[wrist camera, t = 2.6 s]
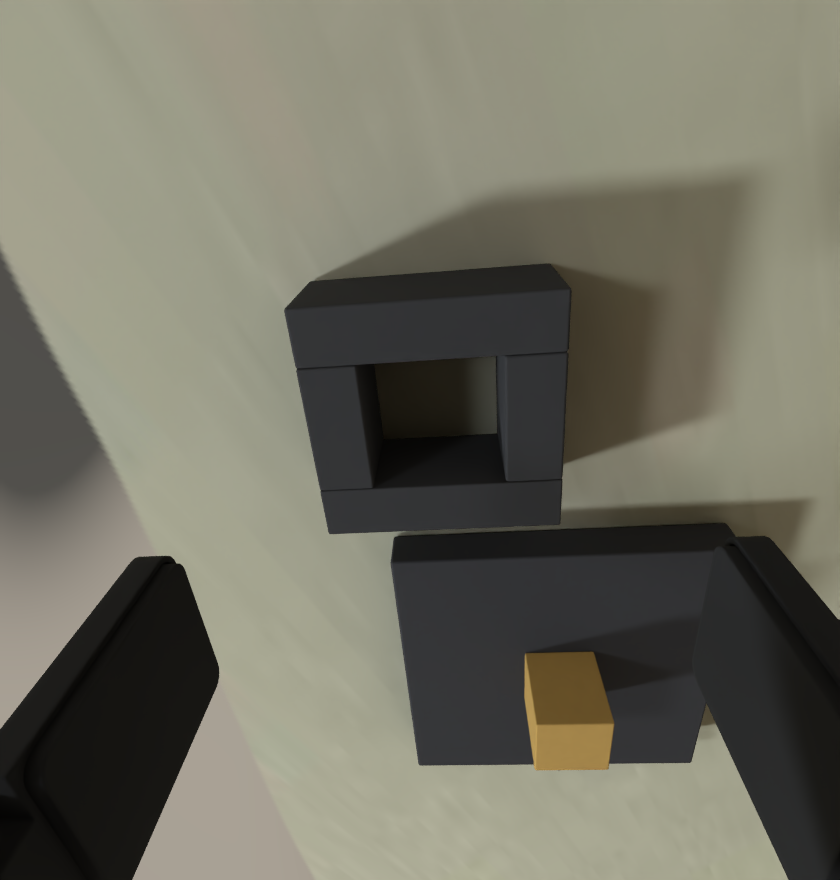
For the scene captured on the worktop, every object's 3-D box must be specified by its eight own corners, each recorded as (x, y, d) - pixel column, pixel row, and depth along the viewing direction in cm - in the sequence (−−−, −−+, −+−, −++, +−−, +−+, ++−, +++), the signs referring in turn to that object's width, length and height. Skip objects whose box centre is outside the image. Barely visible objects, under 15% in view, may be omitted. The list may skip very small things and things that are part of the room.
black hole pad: (309, 280, 16) (282, 308, 14) (550, 262, 16) (572, 287, 13) (344, 481, 20) (328, 534, 17) (544, 471, 19) (560, 525, 16)
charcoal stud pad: (393, 535, 21) (381, 630, 17) (726, 522, 20) (797, 618, 16) (419, 735, 26) (415, 840, 22) (678, 731, 25) (722, 840, 22)
